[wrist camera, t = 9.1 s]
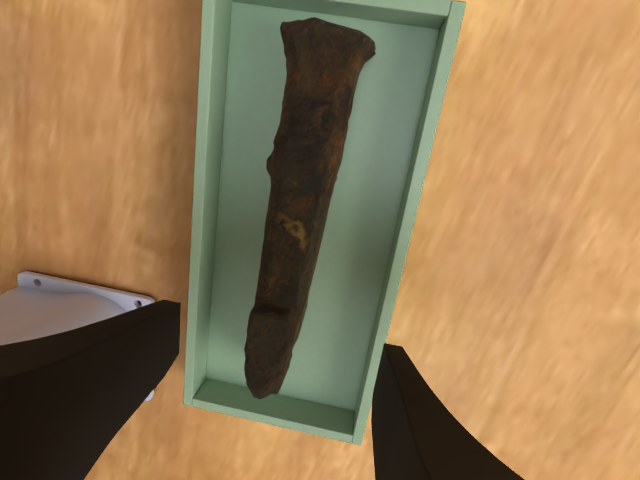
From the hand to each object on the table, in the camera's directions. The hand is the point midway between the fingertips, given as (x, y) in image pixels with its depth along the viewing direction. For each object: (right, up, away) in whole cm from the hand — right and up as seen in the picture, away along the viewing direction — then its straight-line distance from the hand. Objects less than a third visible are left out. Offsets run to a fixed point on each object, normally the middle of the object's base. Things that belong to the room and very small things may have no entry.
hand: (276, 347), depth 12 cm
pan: (0, +4, +8) cm, 9 cm away
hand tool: (+1, +4, +8) cm, 9 cm away
